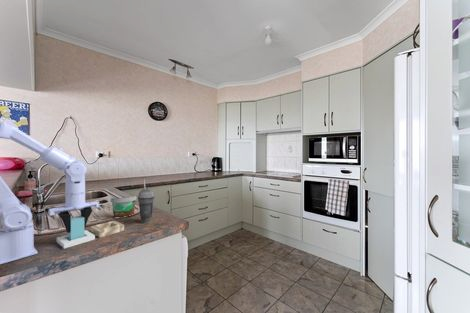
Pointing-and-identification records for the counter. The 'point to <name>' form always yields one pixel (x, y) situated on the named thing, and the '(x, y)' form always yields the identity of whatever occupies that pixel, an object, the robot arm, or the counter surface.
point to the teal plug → (76, 228)
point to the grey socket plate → (75, 240)
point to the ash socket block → (107, 228)
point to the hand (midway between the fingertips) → (75, 230)
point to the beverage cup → (146, 204)
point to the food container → (123, 206)
